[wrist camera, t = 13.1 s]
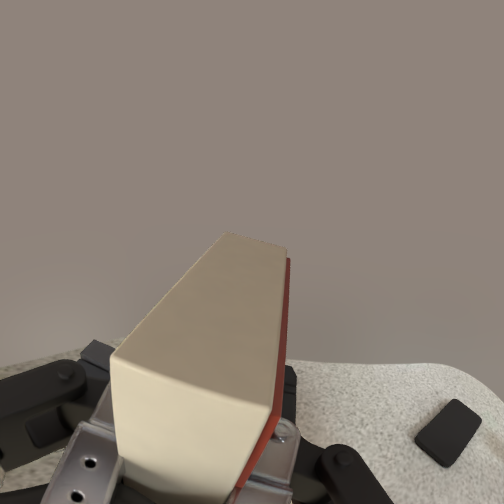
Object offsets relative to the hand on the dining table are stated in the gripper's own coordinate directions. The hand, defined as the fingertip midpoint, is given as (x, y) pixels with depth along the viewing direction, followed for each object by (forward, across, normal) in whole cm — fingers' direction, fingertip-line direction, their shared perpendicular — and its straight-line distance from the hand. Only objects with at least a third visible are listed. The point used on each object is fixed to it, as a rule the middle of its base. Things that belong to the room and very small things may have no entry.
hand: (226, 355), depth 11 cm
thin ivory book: (-3, 0, +6) cm, 7 cm away
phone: (+16, -33, +19) cm, 41 cm away
